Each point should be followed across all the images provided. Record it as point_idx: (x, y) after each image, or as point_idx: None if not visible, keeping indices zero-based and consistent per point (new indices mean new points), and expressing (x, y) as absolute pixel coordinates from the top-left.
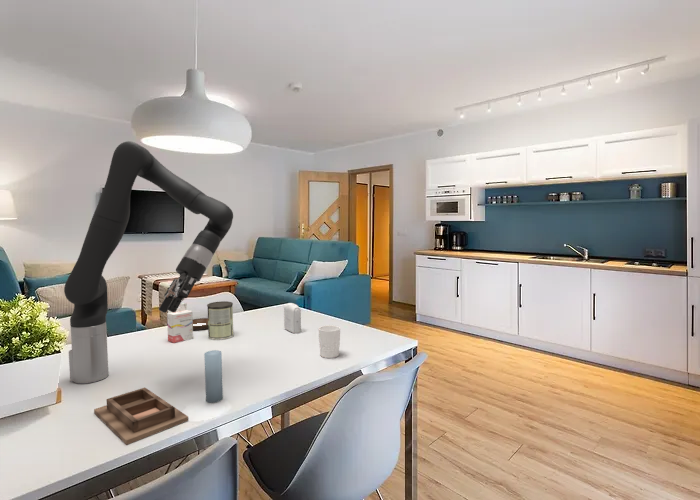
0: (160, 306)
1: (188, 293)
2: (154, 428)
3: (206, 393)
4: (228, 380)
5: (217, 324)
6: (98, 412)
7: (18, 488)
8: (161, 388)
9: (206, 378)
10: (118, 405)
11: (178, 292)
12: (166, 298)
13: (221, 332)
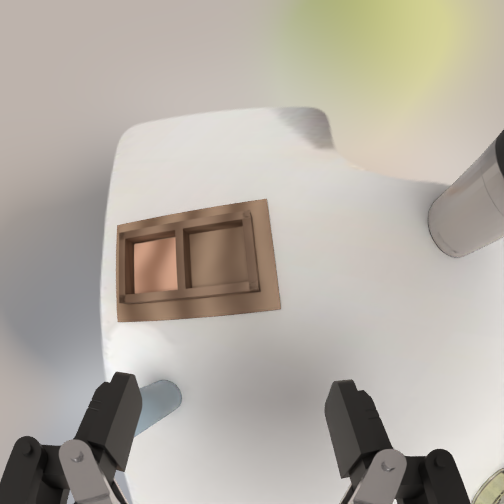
0: (347, 394)
1: (40, 489)
2: (118, 265)
3: (157, 383)
4: (237, 458)
5: (499, 498)
6: (244, 203)
7: (129, 132)
8: (302, 337)
9: (139, 389)
10: (199, 223)
11: (25, 446)
12: (378, 458)
13: (484, 498)
